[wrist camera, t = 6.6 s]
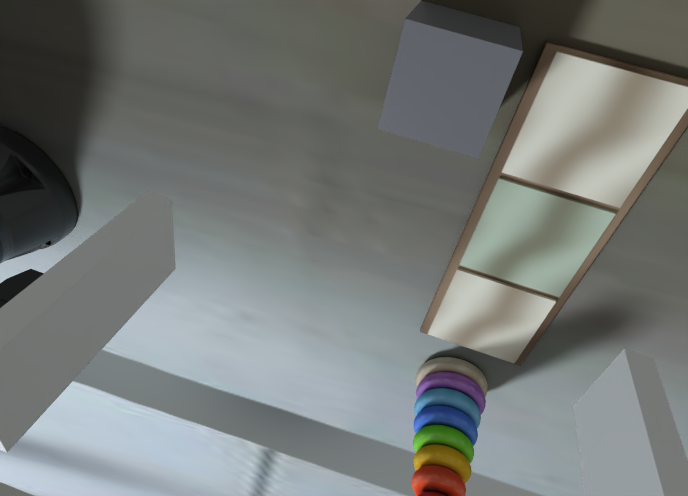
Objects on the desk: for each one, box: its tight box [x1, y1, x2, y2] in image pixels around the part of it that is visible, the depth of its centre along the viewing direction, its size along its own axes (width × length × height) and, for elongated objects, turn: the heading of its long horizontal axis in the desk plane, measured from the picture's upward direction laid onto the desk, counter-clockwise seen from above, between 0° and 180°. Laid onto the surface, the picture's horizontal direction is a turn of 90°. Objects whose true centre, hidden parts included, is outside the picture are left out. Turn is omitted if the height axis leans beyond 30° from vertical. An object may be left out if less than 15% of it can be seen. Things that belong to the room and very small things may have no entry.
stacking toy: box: [412, 357, 488, 496], centre depth 46 cm, size 8×8×19 cm
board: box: [420, 41, 688, 366], centre depth 40 cm, size 11×30×1 cm, turn 169°
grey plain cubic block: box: [378, 1, 523, 159], centre depth 32 cm, size 7×7×7 cm
